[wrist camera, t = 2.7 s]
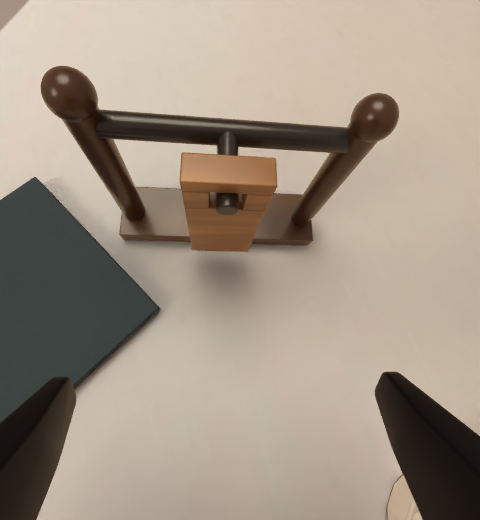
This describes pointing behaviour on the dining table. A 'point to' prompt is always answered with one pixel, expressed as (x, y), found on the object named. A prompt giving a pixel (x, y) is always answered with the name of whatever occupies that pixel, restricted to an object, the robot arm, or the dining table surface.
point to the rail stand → (227, 140)
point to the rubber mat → (57, 297)
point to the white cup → (402, 503)
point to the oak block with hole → (225, 181)
